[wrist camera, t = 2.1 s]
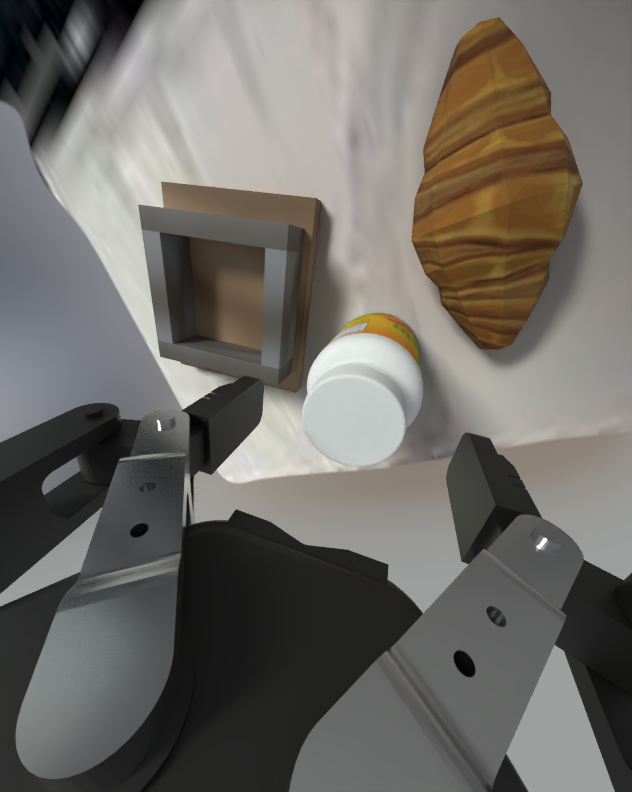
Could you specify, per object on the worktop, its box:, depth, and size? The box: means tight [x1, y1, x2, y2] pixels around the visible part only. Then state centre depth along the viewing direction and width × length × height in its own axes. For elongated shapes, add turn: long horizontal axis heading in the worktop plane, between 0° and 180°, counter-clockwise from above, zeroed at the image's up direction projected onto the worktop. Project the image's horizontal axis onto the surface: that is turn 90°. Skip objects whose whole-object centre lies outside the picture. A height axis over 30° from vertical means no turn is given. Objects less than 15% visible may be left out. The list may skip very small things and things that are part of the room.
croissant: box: [412, 17, 583, 349], centre depth 13 cm, size 14×7×5 cm, turn 16°
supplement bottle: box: [302, 312, 423, 467], centre depth 15 cm, size 5×5×10 cm
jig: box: [138, 182, 321, 392], centre depth 18 cm, size 12×10×4 cm
